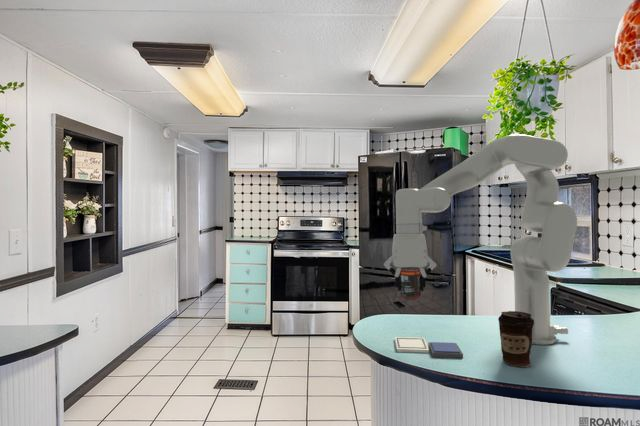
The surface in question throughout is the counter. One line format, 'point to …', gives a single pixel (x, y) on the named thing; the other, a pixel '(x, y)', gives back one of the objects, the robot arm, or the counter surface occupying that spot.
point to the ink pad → (445, 350)
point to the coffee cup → (516, 337)
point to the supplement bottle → (410, 283)
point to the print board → (411, 344)
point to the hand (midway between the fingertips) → (410, 289)
